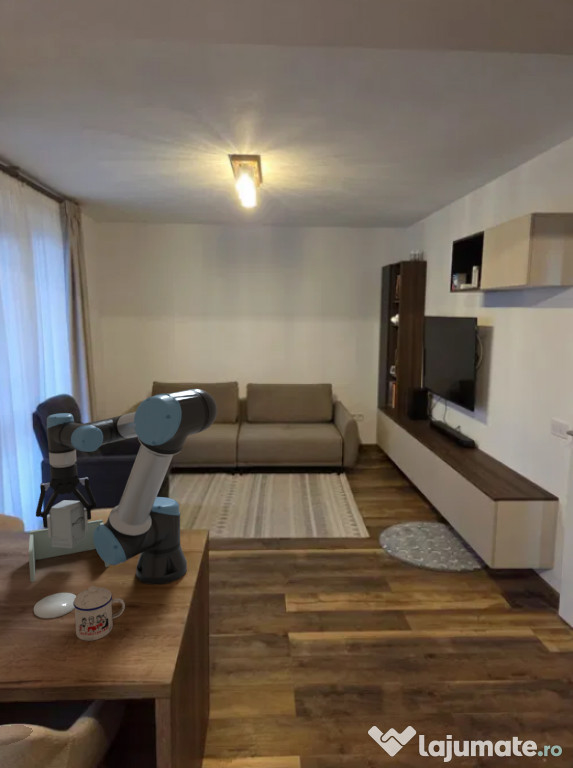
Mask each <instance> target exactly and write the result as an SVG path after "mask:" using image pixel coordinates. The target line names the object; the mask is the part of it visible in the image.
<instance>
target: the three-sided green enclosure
mask: <svg viewBox="0 0 573 768" xmlns="http://www.w3.org/2000/svg"><path fill="white" fill-rule="evenodd" d="M101 524H104V520H103V519H97V520H91V521H89V520H88V531H86V530H85V534H86V538H85V539H84V540H83V541H81V542H80V543H78V544H77V545H76V546H74V547H73V548H60V547H52V542H51V538H48V527H46V528H42V529H41V528H40V529H35V530H30V531H29V541H28V542H29V543H28V563H29V578H30V583H35V581H36V580H35V576H36V575H35V574H36V573H35V572H36V571H35V570H36V561H37V560H38V561H39V560H43V559H49V558H54V557H60V556H65V555H70V554H75V553H81V552H86V551H92V550H96V548H95V545H94V541H93V533H94V530H95V529H96V528H97V527H98V526H99V525H101ZM104 566H105V568H108V567H110V565H109V564H107V563H106V562H105V561H104Z"/></svg>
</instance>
